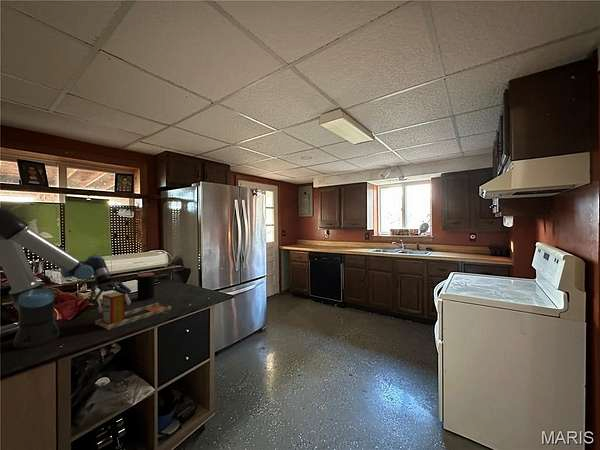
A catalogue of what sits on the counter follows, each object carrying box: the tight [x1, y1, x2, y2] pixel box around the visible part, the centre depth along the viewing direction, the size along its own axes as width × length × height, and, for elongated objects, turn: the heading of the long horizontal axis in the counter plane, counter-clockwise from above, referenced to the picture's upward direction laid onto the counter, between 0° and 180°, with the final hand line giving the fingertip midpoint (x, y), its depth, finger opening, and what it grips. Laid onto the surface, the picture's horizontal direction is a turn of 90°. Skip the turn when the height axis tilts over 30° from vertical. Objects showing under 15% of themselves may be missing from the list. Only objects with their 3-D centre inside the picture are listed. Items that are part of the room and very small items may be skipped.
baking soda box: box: [102, 291, 126, 325], centre depth 137 cm, size 10×6×16 cm
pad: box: [97, 318, 126, 329], centre depth 137 cm, size 11×11×1 cm
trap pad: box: [145, 304, 166, 312], centre depth 158 cm, size 9×11×1 cm
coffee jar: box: [136, 272, 155, 301], centre depth 182 cm, size 11×11×18 cm
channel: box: [94, 302, 172, 331], centre depth 147 cm, size 35×14×2 cm, turn 151°
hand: (116, 307), depth 136 cm, fingers open, 13 cm apart
